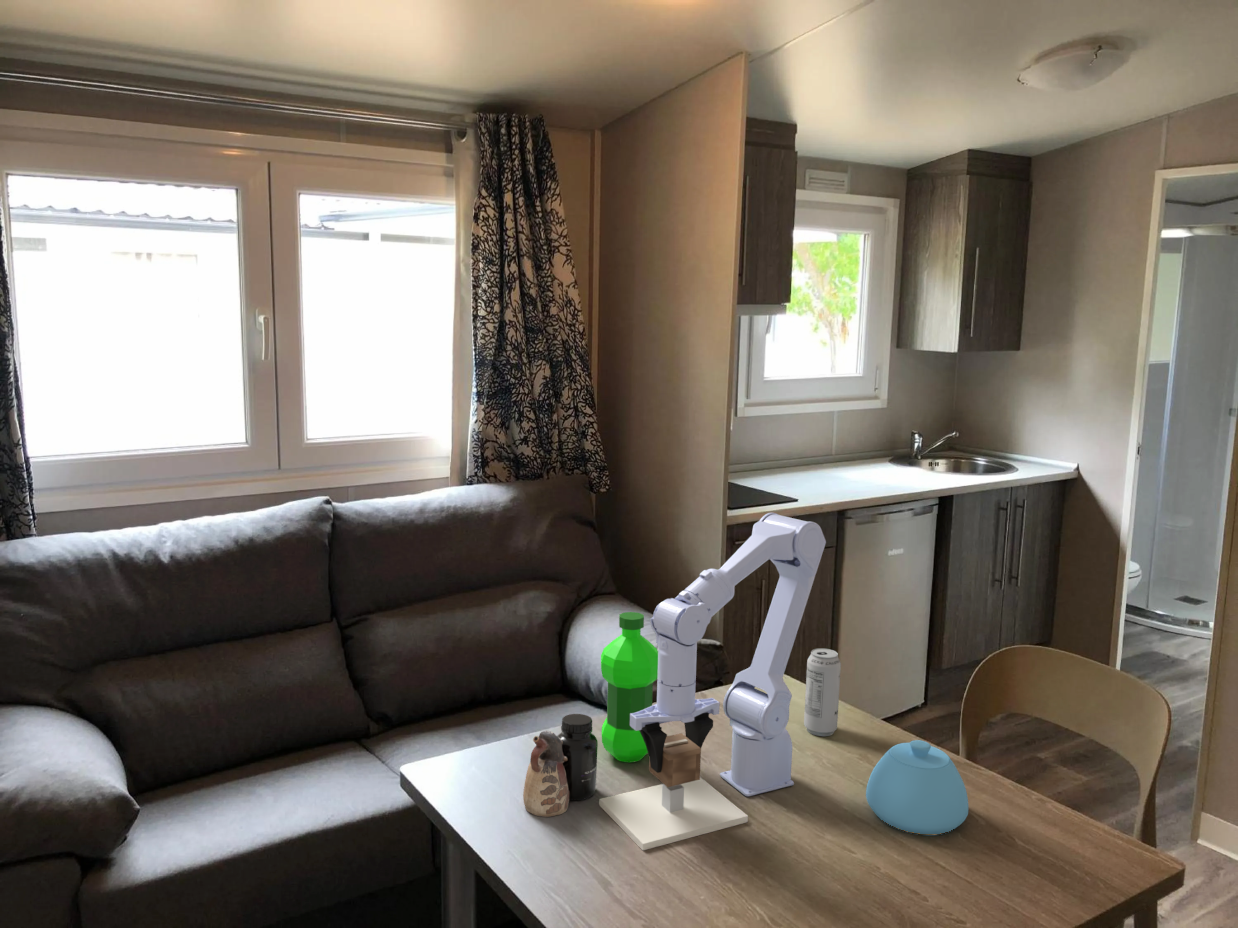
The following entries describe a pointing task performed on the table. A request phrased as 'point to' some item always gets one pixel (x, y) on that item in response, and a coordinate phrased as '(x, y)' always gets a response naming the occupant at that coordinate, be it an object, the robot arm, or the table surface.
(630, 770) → the table surface
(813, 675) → the energy drink can
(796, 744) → the table surface
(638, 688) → the plastic bottle
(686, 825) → the board
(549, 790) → the figurine
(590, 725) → the supplement bottle
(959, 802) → the sugar bowl
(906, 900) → the table surface
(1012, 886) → the table surface
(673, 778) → the walnut knob
